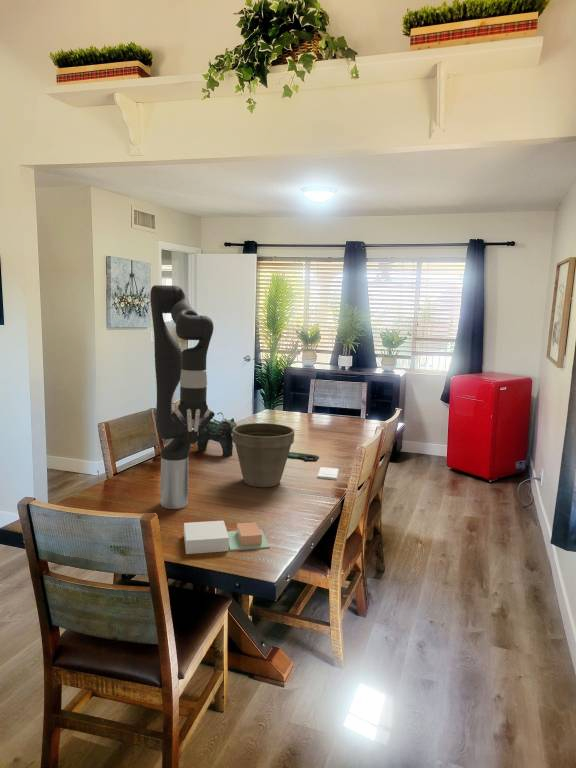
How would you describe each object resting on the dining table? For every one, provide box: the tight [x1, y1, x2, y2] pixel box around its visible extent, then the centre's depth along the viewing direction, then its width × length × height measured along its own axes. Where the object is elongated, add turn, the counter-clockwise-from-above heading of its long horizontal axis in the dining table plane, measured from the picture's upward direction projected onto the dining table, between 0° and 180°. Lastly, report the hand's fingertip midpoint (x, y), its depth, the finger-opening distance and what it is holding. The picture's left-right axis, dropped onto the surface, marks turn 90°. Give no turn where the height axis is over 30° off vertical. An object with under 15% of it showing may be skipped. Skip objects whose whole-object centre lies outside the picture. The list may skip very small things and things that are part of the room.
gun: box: [287, 451, 320, 462], centre depth 241 cm, size 16×2×10 cm
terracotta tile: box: [236, 521, 262, 546], centre depth 154 cm, size 9×6×3 cm, turn 14°
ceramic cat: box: [197, 411, 238, 458], centre depth 240 cm, size 20×6×20 cm, turn 62°
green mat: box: [227, 528, 270, 552], centre depth 154 cm, size 12×12×1 cm
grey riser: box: [183, 520, 230, 555], centre depth 150 cm, size 12×12×4 cm
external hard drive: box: [316, 466, 340, 481], centre depth 219 cm, size 2×8×12 cm
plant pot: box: [232, 422, 295, 488], centre depth 204 cm, size 25×25×22 cm
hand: (192, 443), depth 150 cm, fingers closed
